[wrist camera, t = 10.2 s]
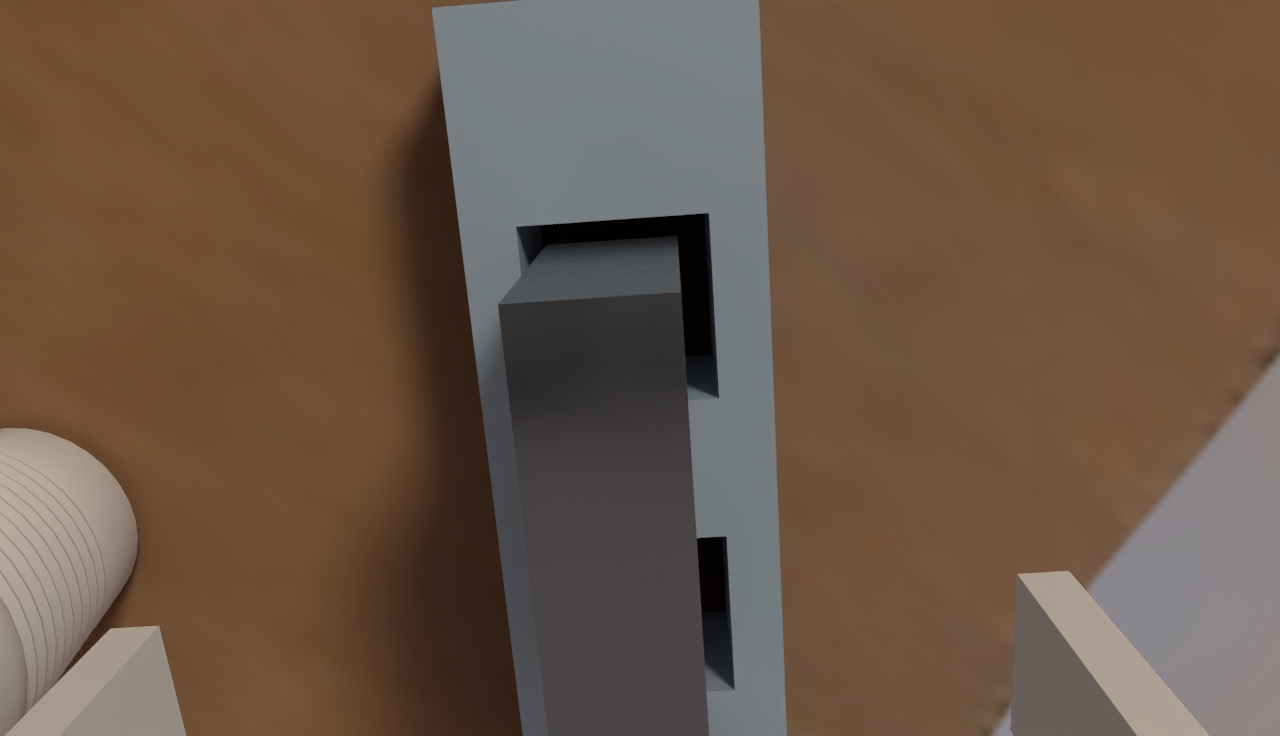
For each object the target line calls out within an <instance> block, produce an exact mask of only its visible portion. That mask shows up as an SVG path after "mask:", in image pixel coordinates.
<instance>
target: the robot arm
mask: <svg viewBox="0 0 1280 736" xmlns="http://www.w3.org/2000/svg"><path fill="white" fill-rule="evenodd" d="M1011 731H1012V733H1013V735H1014V736H1209V735H1208V734H1207V733H1206V731H1205V730H1204V729H1203V728H1202V727H1201V726H1200V724H1199V723H1198V722H1197V721H1196V720H1195V719H1194V717H1193V716H1192V715H1191V714H1190V713H1189V711H1187V709H1186V708H1185V707H1184V706H1183V705H1182V703H1181V702H1180V701H1179V700H1178V699H1177V697H1176V696H1175V695H1174V694H1173V693H1172V691H1171V690H1170V689H1169V688H1168V687H1167V686H1166V684H1165V683H1164V682H1163V681H1162V680H1161V679H1160V677H1159V676H1158V675H1157V674H1156V673H1155V672H1154V670H1153V669H1152V668H1151V667H1150V666H1149V664H1148V663H1147V662H1146V661H1145V660H1144V659H1143V657H1142V656H1141V655H1140V654H1139V653H1138V652H1137V650H1136V649H1135V648H1134V647H1133V646H1132V645H1131V643H1130V642H1129V641H1128V640H1127V639H1126V637H1125V636H1124V635H1123V634H1122V633H1121V632H1120V630H1119V629H1118V628H1117V627H1116V626H1115V625H1114V623H1113V622H1112V621H1111V620H1110V619H1109V617H1108V616H1107V615H1106V614H1105V613H1104V612H1103V610H1101V608H1100V607H1099V606H1098V605H1097V603H1096V602H1095V601H1094V600H1093V599H1092V598H1091V596H1090V595H1089V594H1088V593H1087V592H1086V590H1085V589H1084V588H1083V587H1082V586H1081V585H1080V583H1079V582H1078V581H1077V580H1076V579H1075V578H1074V576H1073V575H1072V574H1071V573H1070V572H1069V571H1061V572H1044V573H1028V574H1017V592H1016V615H1015V638H1014V661H1013V684H1012V707H1011ZM5 736H186V733H185V729H184V725H183V721H182V717H181V713H180V709H179V705H178V701H177V697H176V693H175V689H174V685H173V681H172V677H171V673H170V668H169V664H168V660H167V656H166V652H165V648H164V644H163V640H162V636H161V632H160V628H159V626H147V627H130V628H114V629H110V630H109V631H108V632H107V633H106V634H105V635H104V636H103V637H102V638H101V639H100V640H99V641H98V642H97V643H96V644H95V645H94V646H93V647H92V648H91V649H90V650H89V651H88V652H87V653H86V654H85V655H84V656H83V657H82V658H81V659H80V660H79V661H78V662H77V663H76V664H75V665H74V666H73V667H72V668H71V669H70V670H69V671H68V672H67V673H66V674H65V675H64V676H63V677H62V678H61V679H60V680H59V681H58V682H57V683H56V684H55V685H54V686H53V687H52V688H51V689H50V690H49V691H48V692H47V693H46V694H45V695H44V696H43V697H42V698H41V699H40V700H39V701H38V702H37V703H36V704H35V705H34V706H33V708H32V709H31V710H30V711H29V712H28V713H27V714H26V715H25V716H24V717H23V718H22V719H21V720H20V721H19V722H18V723H17V724H16V725H15V726H14V727H13V728H12V729H11V730H10V731H9V732H8V733H7V734H6V735H5Z"/></svg>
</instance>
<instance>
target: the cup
mask: <svg viewBox="0 0 1280 736" xmlns="http://www.w3.org/2000/svg"><path fill="white" fill-rule="evenodd" d="M137 547H138V533H137V526H136V519H135V516H134V514H133V511H132V508H131V505H130V502H129V500H128V498H127V497H126V495H125V493H124V491H123V490H122V488H121V486H120V484H119V483H118V482H117V480H116V479H115V478H114V477H113V476H112V474H111V473H110V472H109V471H108V470H107V469H106V467H105V466H104V465H103V464H101V463H100V462H99V461H98V460H97V459H95V458H94V457H93V456H92V455H91V454H90V453H88V452H87V451H85V450H83V449H82V448H80V447H78V446H77V445H75V444H73V443H72V442H70V441H68V440H65V439H63V438H60V437H58V436H55V435H53V434H50V433H47V432H42V431H37V430H32V429H24V428H4V429H0V736H5V735H6V734H7V733H8V732H9V731H10V730H11V729H12V728H13V727H14V726H15V725H16V724H17V723H18V722H19V721H20V720H21V719H22V718H23V717H24V716H25V715H26V714H27V713H28V712H29V711H30V710H31V709H32V708H33V706H34V705H35V704H36V703H37V702H38V701H39V700H40V699H41V698H42V697H43V696H44V695H45V694H46V693H47V692H48V691H49V690H50V689H51V688H52V687H53V686H54V685H55V684H56V682H57V680H58V679H59V677H60V676H61V675H62V674H63V673H64V671H65V669H66V667H67V666H68V665H69V664H70V663H71V661H72V660H73V658H74V656H75V654H76V653H77V652H78V651H79V650H80V648H81V646H82V645H83V643H84V642H85V641H86V640H87V638H88V637H89V635H90V633H91V632H92V630H93V629H94V628H95V627H96V626H97V625H98V623H99V622H100V620H101V619H102V617H103V616H104V615H105V613H106V612H107V610H108V609H109V607H110V606H111V605H112V603H113V602H114V600H115V599H116V597H117V596H118V594H119V593H120V592H121V590H122V589H123V587H124V585H125V584H126V582H127V580H128V579H129V577H130V575H131V574H132V570H133V567H134V564H135V561H136V557H137Z"/></svg>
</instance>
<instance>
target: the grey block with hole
mask: <svg viewBox="0 0 1280 736" xmlns="http://www.w3.org/2000/svg"><path fill="white" fill-rule="evenodd" d="M432 14H433V22H434V30H435V38H436V46H437V54H438V62H439V70H440V78H441V86H442V94H443V102H444V110H445V118H446V126H447V134H448V142H449V150H450V158H451V166H452V174H453V182H454V190H455V198H456V206H457V214H458V222H459V230H460V238H461V246H462V254H463V262H464V270H465V278H466V286H467V294H468V302H469V310H470V318H471V326H472V334H473V342H474V350H475V358H476V366H477V374H478V382H479V390H480V398H481V406H482V414H483V422H484V430H485V438H486V446H487V454H488V462H489V470H490V478H491V486H492V494H493V502H494V510H495V518H496V526H497V534H498V542H499V550H500V558H501V566H502V574H503V582H504V590H505V598H506V606H507V614H508V622H509V630H510V638H511V646H512V654H513V662H514V670H515V678H516V686H517V694H518V702H519V710H520V718H521V726H522V734H523V736H548V729H547V721H546V712H545V704H544V695H543V686H542V678H541V669H540V661H539V652H538V644H537V635H536V626H535V618H534V609H533V601H532V592H531V584H530V575H529V566H528V558H527V549H526V541H525V532H524V524H523V515H522V506H521V498H520V489H519V481H518V472H517V464H516V455H515V446H514V438H513V429H512V421H511V412H510V404H509V395H508V386H507V378H506V369H505V361H504V352H503V344H502V335H501V326H500V318H499V309H498V304H499V302H500V301H501V300H502V299H503V298H504V296H505V295H506V294H507V293H508V291H509V290H510V289H511V288H512V287H513V285H514V284H515V283H516V282H517V280H518V279H519V278H520V277H521V276H522V274H523V273H524V272H525V271H526V270H527V268H528V267H529V266H530V265H531V263H532V262H533V261H534V260H535V259H536V257H537V256H538V255H539V254H540V252H541V251H542V250H543V244H542V234H541V225H548V224H562V223H576V222H590V221H604V220H618V219H632V218H646V217H660V216H675V215H689V214H703V213H704V225H705V243H706V261H707V279H708V297H709V315H710V333H711V351H712V355H702V356H686V357H685V361H686V377H687V392H688V408H689V424H690V440H691V455H692V471H693V487H694V503H695V518H696V534H697V538H706V537H722V549H723V567H724V585H725V603H726V611H716V612H701V613H702V629H703V644H704V660H705V676H706V692H707V707H708V723H709V736H787V729H786V703H785V677H784V650H783V624H782V597H781V571H780V545H779V518H778V492H777V465H776V439H775V412H774V386H773V360H772V333H771V307H770V280H769V254H768V228H767V201H766V175H765V148H764V122H763V96H762V69H761V43H760V16H759V0H521V1H509V2H496V3H484V4H472V5H460V6H448V7H436V8H432Z"/></svg>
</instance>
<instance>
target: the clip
mask: <svg viewBox="0 0 1280 736" xmlns="http://www.w3.org/2000/svg"><path fill="white" fill-rule="evenodd" d="M498 309H499V318H500V326H501V335H502V344H503V352H504V361H505V369H506V378H507V386H508V395H509V404H510V412H511V421H512V429H513V438H514V446H515V455H516V464H517V472H518V481H519V489H520V498H521V506H522V515H523V524H524V532H525V541H526V549H527V558H528V566H529V575H530V584H531V592H532V601H533V609H534V618H535V626H536V635H537V644H538V652H539V661H540V669H541V678H542V686H543V695H544V704H545V712H546V721H547V729H548V736H709V723H708V707H707V692H706V676H705V660H704V644H703V629H702V613H701V597H700V581H699V566H698V550H697V534H696V518H695V503H694V487H693V471H692V455H691V440H690V424H689V408H688V392H687V377H686V361H685V345H684V329H683V314H682V298H681V283H680V268H679V253H678V238H677V236H669V237H655V238H640V239H626V240H612V241H598V242H583V243H569V244H555V245H546V246H545V248H544V249H543V250H542V251H541V252H540V254H539V255H538V256H537V257H536V259H535V260H534V261H533V262H532V263H531V265H530V266H529V267H528V268H527V270H526V271H525V272H524V273H523V274H522V276H521V277H520V278H519V279H518V280H517V282H516V283H515V284H514V285H513V287H512V288H511V289H510V290H509V291H508V293H507V294H506V295H505V296H504V298H503V299H502V300H501V301H500V302H499V304H498Z"/></svg>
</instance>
